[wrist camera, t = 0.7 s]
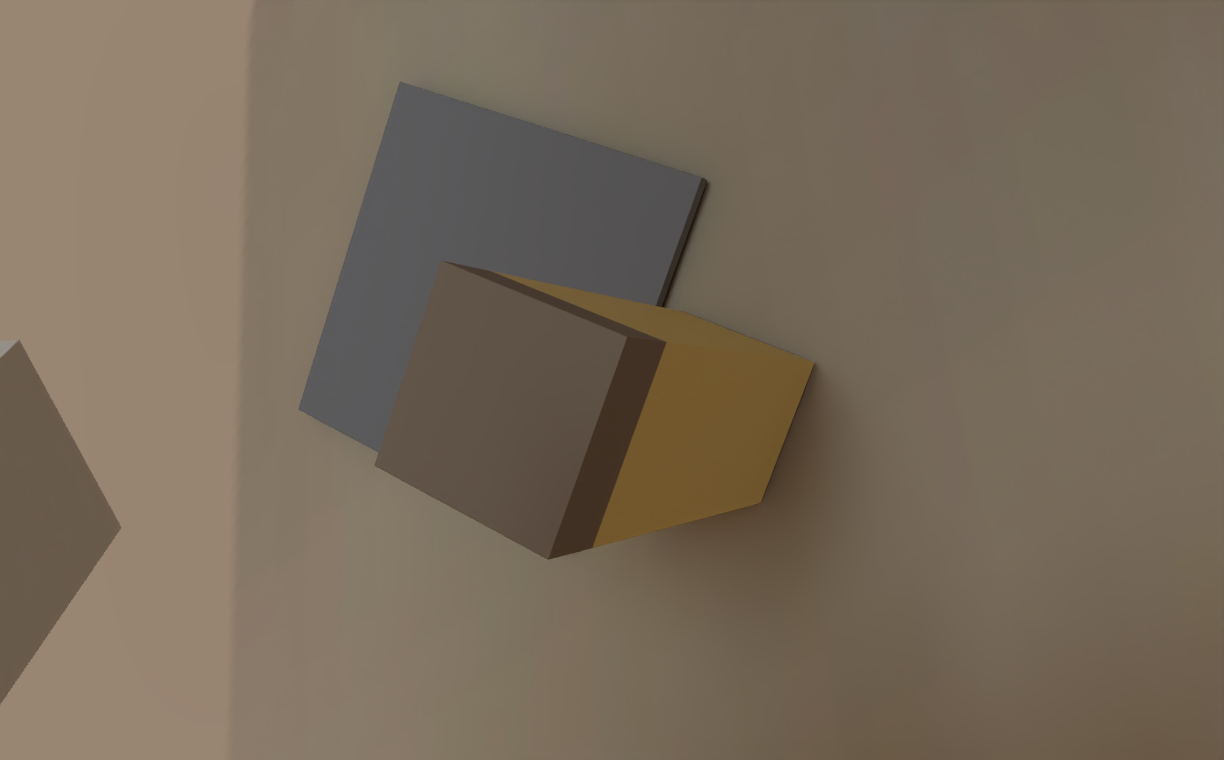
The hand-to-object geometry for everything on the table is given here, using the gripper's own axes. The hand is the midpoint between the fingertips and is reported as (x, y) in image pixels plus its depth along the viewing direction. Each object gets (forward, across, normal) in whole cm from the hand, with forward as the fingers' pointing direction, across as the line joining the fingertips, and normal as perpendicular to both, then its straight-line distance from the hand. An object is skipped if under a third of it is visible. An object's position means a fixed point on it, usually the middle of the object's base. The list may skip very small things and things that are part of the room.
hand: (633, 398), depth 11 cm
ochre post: (+20, 0, -14) cm, 24 cm away
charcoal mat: (+24, -9, -12) cm, 29 cm away
